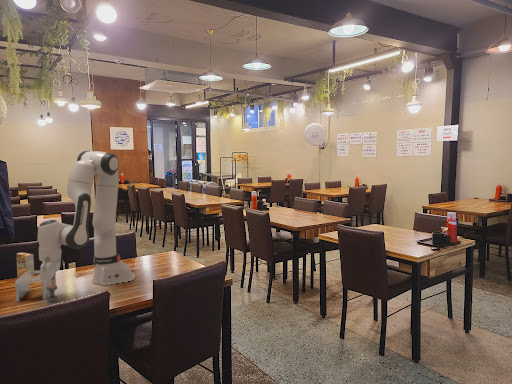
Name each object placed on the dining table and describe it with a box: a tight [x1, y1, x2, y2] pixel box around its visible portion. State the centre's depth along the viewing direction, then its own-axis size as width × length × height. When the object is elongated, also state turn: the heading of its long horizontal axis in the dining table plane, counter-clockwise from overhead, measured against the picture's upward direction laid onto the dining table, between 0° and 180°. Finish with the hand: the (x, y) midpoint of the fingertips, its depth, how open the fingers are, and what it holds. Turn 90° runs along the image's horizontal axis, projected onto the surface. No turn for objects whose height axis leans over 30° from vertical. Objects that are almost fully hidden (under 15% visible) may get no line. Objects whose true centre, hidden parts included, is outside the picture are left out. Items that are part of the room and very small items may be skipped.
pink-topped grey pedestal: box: [46, 276, 59, 304], centre depth 167 cm, size 4×4×11 cm
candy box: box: [16, 251, 35, 279], centre depth 193 cm, size 9×4×15 cm, turn 66°
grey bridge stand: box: [14, 269, 50, 303], centre depth 174 cm, size 12×15×10 cm
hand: (51, 283), depth 166 cm, fingers closed on pink-topped grey pedestal, 3 cm apart
